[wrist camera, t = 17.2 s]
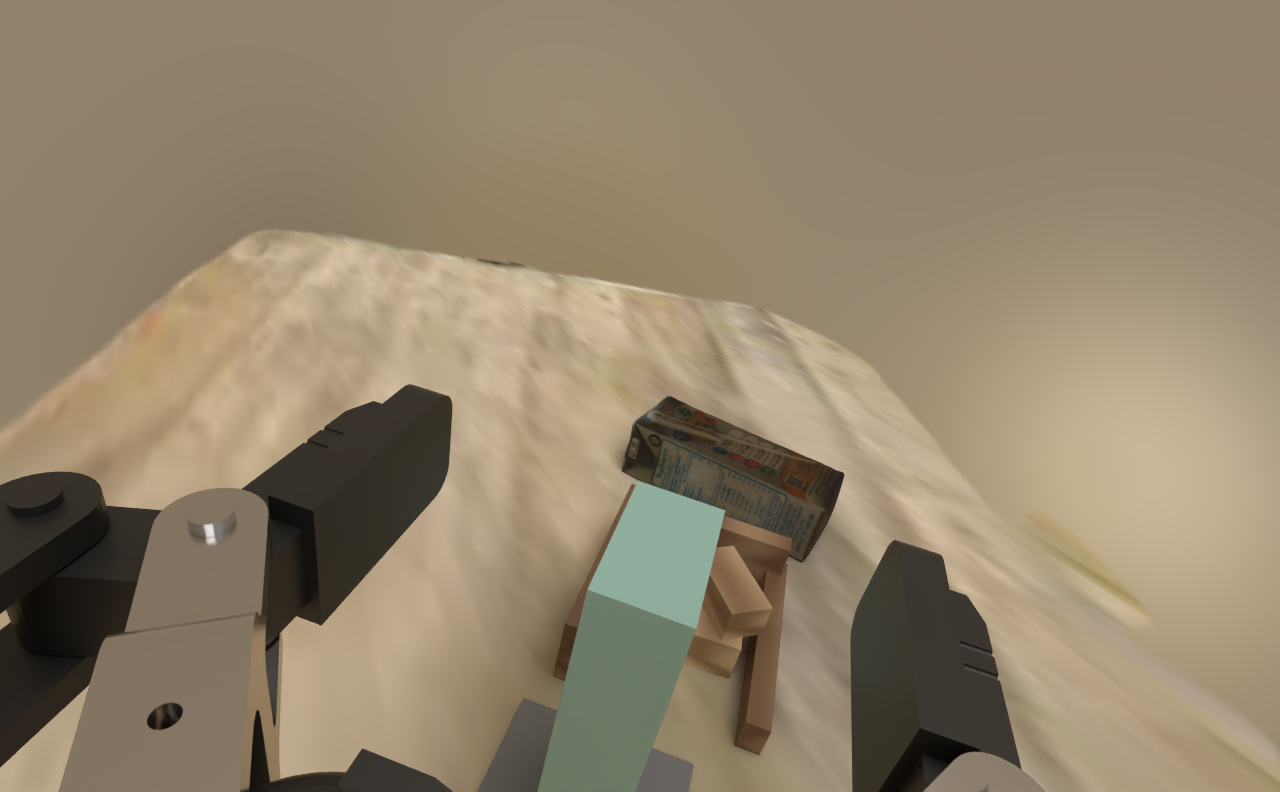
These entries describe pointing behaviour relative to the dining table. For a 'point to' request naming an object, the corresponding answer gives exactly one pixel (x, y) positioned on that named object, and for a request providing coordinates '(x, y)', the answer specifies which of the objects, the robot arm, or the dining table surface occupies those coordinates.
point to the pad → (526, 748)
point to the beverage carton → (733, 472)
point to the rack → (769, 571)
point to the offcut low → (712, 649)
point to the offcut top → (734, 597)
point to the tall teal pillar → (631, 642)
